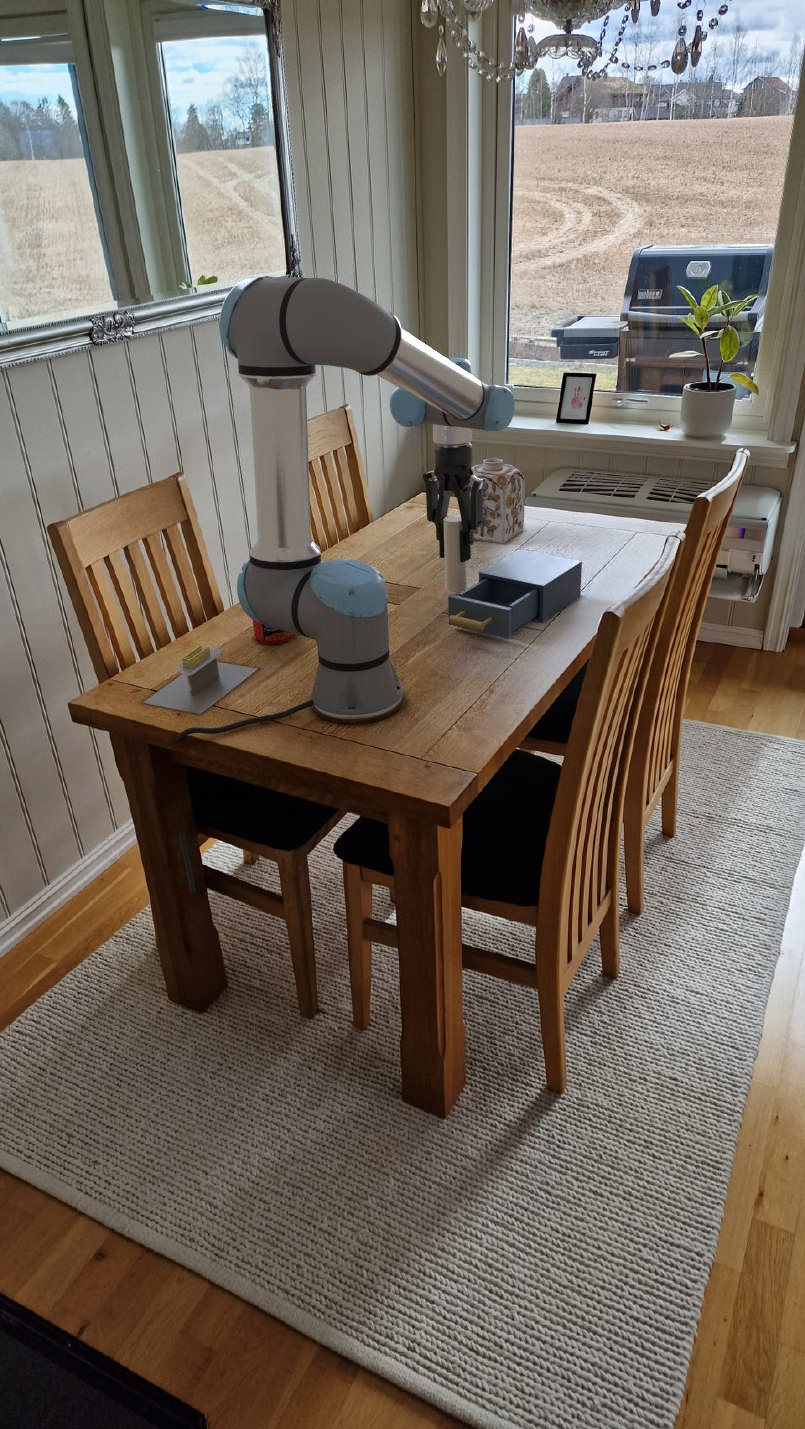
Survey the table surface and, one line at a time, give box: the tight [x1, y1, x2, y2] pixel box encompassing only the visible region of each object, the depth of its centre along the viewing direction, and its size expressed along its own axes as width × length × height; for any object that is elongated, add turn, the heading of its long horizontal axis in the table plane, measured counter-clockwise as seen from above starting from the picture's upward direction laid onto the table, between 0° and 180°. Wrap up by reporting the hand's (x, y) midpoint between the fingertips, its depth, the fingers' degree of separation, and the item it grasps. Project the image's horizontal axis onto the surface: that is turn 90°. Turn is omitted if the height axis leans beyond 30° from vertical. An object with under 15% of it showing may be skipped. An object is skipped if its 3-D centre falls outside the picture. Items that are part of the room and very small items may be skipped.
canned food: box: [252, 619, 294, 645], centre depth 184 cm, size 8×8×11 cm
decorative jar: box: [468, 457, 526, 545], centre depth 230 cm, size 12×12×18 cm
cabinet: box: [478, 549, 583, 623], centre depth 194 cm, size 16×15×8 cm
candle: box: [444, 514, 467, 593], centre depth 198 cm, size 4×4×15 cm
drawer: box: [447, 578, 540, 640], centre depth 184 cm, size 19×13×6 cm
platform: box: [142, 644, 258, 715], centre depth 168 cm, size 12×18×7 cm, turn 156°
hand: (455, 557), depth 198 cm, fingers closed on candle, 4 cm apart
